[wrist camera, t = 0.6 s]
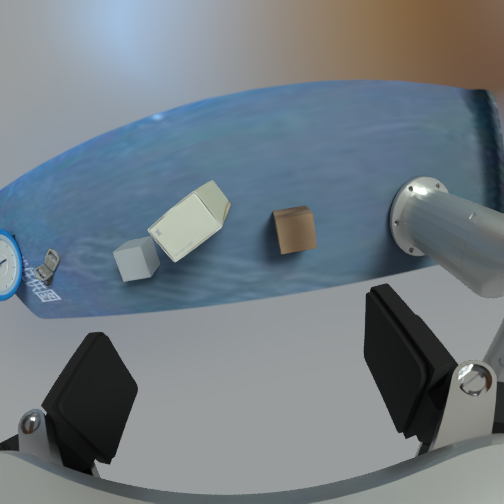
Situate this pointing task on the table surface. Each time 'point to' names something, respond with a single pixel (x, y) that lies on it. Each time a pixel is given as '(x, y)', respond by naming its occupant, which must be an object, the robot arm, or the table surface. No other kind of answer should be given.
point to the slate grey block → (137, 259)
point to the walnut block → (295, 229)
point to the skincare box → (191, 221)
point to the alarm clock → (9, 265)
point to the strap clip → (48, 267)
